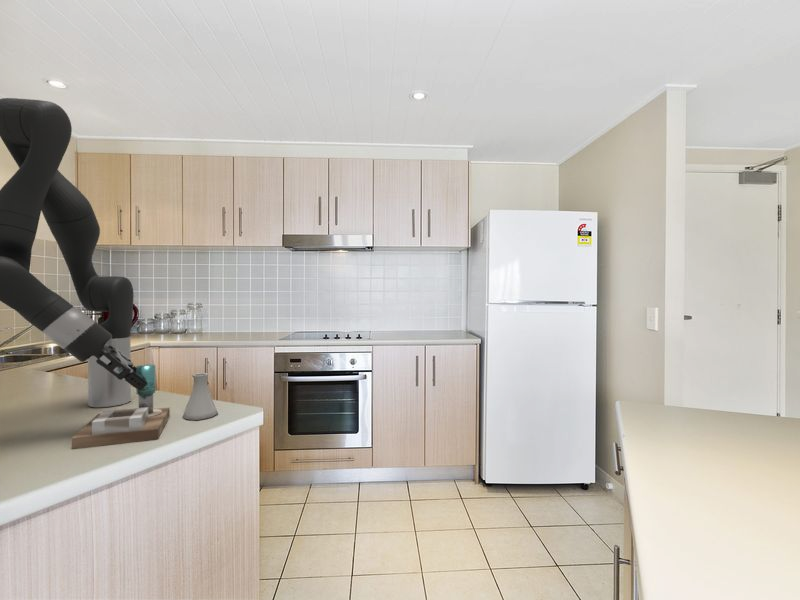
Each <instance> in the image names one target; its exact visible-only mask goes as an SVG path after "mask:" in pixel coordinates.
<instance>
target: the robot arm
mask: <svg viewBox="0 0 800 600" xmlns="http://www.w3.org/2000/svg"><path fill="white" fill-rule="evenodd" d="M72 129H73V128H72V122H71V119H70V117H69V116H68V113H67V112H66V111H65V109H63V107H61V106H60V105H58V104H57V103H55V102H53V101H48V100H41V99H31V98H16V97H4V98H0V138H1V141H2V143H3V144H4V146H5V147H6V149H7V150H8V152H9V153H10V155H11V157H12V158H13V160H14V162H15V163H16V164H17V165H16V166H18V170H17V171H15V173H14V174H13V175H12V177H10V178H9V180H7V181H6V183H5V184H4V185H3V186H2V187H1V188H0V302H1V303H3V304H4V305H6V306H7V307H9V308H11V309H12V310H14V311H16V312H17V314H19V315H20V316H21V317H22V318H23V319H24V320H26V321H27V322H28V323H30V324H31V325H32V326H34V328H36V329H38V330H39V331H41V332H42V333H43V334H44V335H45V336H46V337H48V339H50V341H51V342H53V343H54V344H56V345H57V346H59V348H61V349H63V350H64V351H66V352H67V353H68V354H70V355H71V356H72V357H73V358H74V359H77V360H78V361H79V362H81V363H82V362H83V363H84V362H86V361H87V400H88V401H87V406H88V407H90V408H108V407H115V406H121V405H124V404H127V403H130V402H131V401H132V387H133V388H135V389H137V390H142V389H143V388H144V387H145V386H146V385H147V381H146V380H144V379H143V378H142V377H140V376H139V375H138V374H136V366H135V364H134V363H133V362H132V360H131V357H132V354H131V350H132V349H131V330H132V326H133V310H134V288H133V285H132V281H131V280H130V279H129V278H128V277H125V276H109V275H108V276H106V275H105V276H104V275H103V276H100V275H98V274H97V272H96V270H95V269H96V268H95V266H94V264H93V255H94V252H95V249H96V247H97V244H98V242H99V239H100V234H101V228H100V223H99V222H98V219H97V216H96V214H95V211H94V210H93V209H94V208H93V206H92V204H91V203H90V201H89V200H88V198H87V197H86V196H85V194H84V193H82V192H81V190H79V188H77V187H76V186H75V185H74V184H73V183H72V182H71V181H69V180H68V178H66V176H64V175H63V173H61V172H60V170H59V167H60V165H61V163H62V160H63V158H64V156H65V154H66V152H67V149H68V147H69V144H70V141H71V137H72ZM41 213H42V215H43V218H44V220H45V222H46V223H47V224H46V225H47V226H48V228H49V230H50V232H51V234H52V236H53V238H54V239H55V242H56V244H57V245H58V248H59V250H60V253H61V255H62V257H63V259H64V261H65V264H66V267H67V269H68V272H69V274H70V277H71V281H72V283H73V287H74V289H75V292H76V296H77V298H78V301H79V302H80V303H81V306H82V307H83V308H85V310H87V311H90V312H98V313H100V312H102V313H103V312H104V313H105V312H108V317H107V319H105V321H102V322H101V323H98V322H97V321H96V320H94V319H93V318H91V317H90V316H89V315H87V314H86V313H85V312H83V311H81V310H80V309H78V308H76V306H74V305H72V304H71V303H70V302H69V301H68V300H66V299H65V298H64V297H62V296H61V295H59V294H58V293H57V292H54V291H53V290H52V289H50V288H48V286H46V285H45V284H44V283H43V282H41V281H40V280H39V279H38V278H37V277H36V276H35V275H34V274H32V273H31V272H30V270H31V261H32V249H33V245H34V242H35V239H36V236H37V235H36V234H37V231H38V226H39V222H40V218H41ZM129 401H130V402H129Z"/></svg>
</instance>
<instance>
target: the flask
mask: <svg viewBox="0 0 800 600" xmlns="http://www.w3.org/2000/svg"><path fill="white" fill-rule="evenodd" d="M191 376H192V378H193V385H192V391H191V393H190V396H189V399H188V401H187V404H186V406H185V409H184V411H183V414H182V418H184V419H185V420H192V421H195V420H196V421H199V420H200V421H201V420H206V419H210V418H213V417H215V416H217V415H218V414H219V412H218V409H217V408H216V405H215V403H214V400H213V398H212V396H211V395H212V394H211V393H210V391H209V390H210V389H209V386H208V377H209V373H208V372H198V373H194V374H192V375H191Z"/></svg>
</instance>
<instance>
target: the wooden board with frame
mask: <svg viewBox="0 0 800 600" xmlns="http://www.w3.org/2000/svg"><path fill="white" fill-rule="evenodd" d="M170 409H171V408H170V406H169V407H159V408H153V413H151V414H148V407H146V408H139V407H135V408H134V407H133V408H124V409H114V410H113V409H112V410H103V411H102V412H100V413H97V414H96V415H95V416H94V417H93V418H92V419H91V420H89V422H88V423H87V424H85V425H84V426H83V427H82V428H81V429H80V430H79V431H78V432H76V433H75V434H74V436H72V437H71V450H73V449H82V448H84V449H85V448H92V447H100V446H108V445H109V446H111V445H118V444H127V443H135V442H136V443H137V442H143V441H144V442H147V441H153V440H159V438H160V436H161V434H162V433H163V430H164V428H165V426H166V424H167V422H168V420H169V418H170V416H171V415H170V414H171V412H170V411H171V410H170Z"/></svg>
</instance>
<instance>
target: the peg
mask: <svg viewBox="0 0 800 600" xmlns="http://www.w3.org/2000/svg"><path fill="white" fill-rule="evenodd" d="M135 367H136V374H138V375H139V376H140V377H142V378H143V379H144V380H146V381H147V385H146V386H145V387H144V388H143V389H142V390H137V389H136V388H135V389H136V395H138V408H146V407H148V414H151V413H153V409H154V394H155V393H156V364H140V365H136V366H135Z"/></svg>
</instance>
